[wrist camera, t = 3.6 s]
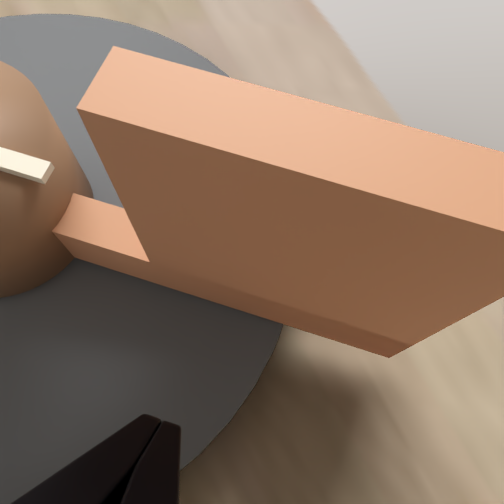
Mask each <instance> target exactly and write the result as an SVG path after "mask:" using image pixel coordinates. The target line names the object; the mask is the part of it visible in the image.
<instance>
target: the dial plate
mask: <svg viewBox="0 0 504 504" xmlns="http://www.w3.org/2000/svg"><path fill="white" fill-rule="evenodd" d="M113 46H116V47H120V48H123V49H127V50H131V51H134V52H138V53H142V54H145V55H149V56H153V57H156V58H160V59H164V60H167V61H171V62H175V63H178V64H182V65H186V66H189V67H193V68H197V69H200V70H204V71H208V72H211V73H215V74H219V75H222V76H226V77H229V76H228V75H227V74H225V73H224V72H223V71H222V70H220V69H219V68H218V67H216V66H215V65H214V64H213V63H211V62H210V61H209V60H208V59H206V58H204V57H203V56H201V55H199V54H198V53H196V52H194V51H193V50H191V49H189V48H188V47H186V46H184V45H183V44H180V43H178V42H176V41H174V40H171V39H169V38H167V37H165V36H163V35H160V34H158V33H156V32H153V31H149V30H146V29H143V28H140V27H137V26H134V25H131V24H127V23H123V22H118V21H113V20H109V19H104V18H98V17H89V16H80V15H71V14H32V15H19V16H7V17H1V18H0V61H2V62H4V63H6V64H8V65H10V66H12V67H14V68H15V69H17V70H18V71H20V72H21V73H22V74H24V75H25V76H26V77H27V78H28V79H29V80H30V81H31V82H32V83H33V85H34V86H35V87H36V89H37V90H38V91H39V93H40V95H41V97H42V99H43V100H44V102H45V104H46V106H47V107H48V109H49V111H50V113H51V115H52V116H53V118H54V120H55V122H56V123H57V125H58V127H59V129H60V131H61V132H62V134H63V136H64V138H65V140H66V141H67V143H68V145H69V147H70V148H71V150H72V152H73V154H74V156H75V157H76V159H77V161H78V163H79V164H80V166H81V168H82V170H83V172H84V173H85V175H86V177H87V179H88V181H89V183H90V185H91V188H92V191H93V196H94V199H95V200H98V201H101V202H105V203H108V204H111V205H114V206H118V207H121V208H124V207H123V205H122V203H121V201H120V199H119V197H118V195H117V193H116V191H115V188H114V186H113V184H112V182H111V180H110V178H109V176H108V174H107V172H106V170H105V167H104V165H103V163H102V161H101V159H100V157H99V155H98V153H97V151H96V149H95V146H94V144H93V142H92V140H91V138H90V136H89V134H88V132H87V130H86V128H85V125H84V123H83V121H82V119H81V117H80V115H79V113H78V111H77V109H76V107H77V106H78V104H79V102H80V101H81V99H82V97H83V96H84V94H85V92H86V91H87V89H88V87H89V86H90V84H91V82H92V81H93V79H94V77H95V76H96V74H97V72H98V71H99V69H100V67H101V66H102V64H103V62H104V61H105V59H106V57H107V56H108V54H109V52H110V51H111V49H112V47H113ZM229 78H230V77H229ZM282 327H283V324H281V323H278V322H275V321H272V320H269V319H266V318H263V317H259V316H256V315H253V314H250V313H247V312H244V311H241V310H237V309H234V308H231V307H228V306H225V305H222V304H219V303H216V302H212V301H209V300H206V299H203V298H200V297H197V296H194V295H191V294H187V293H184V292H181V291H178V290H175V289H172V288H169V287H165V286H162V285H159V284H156V283H153V282H150V281H147V280H144V279H140V278H137V277H134V276H131V275H128V274H125V273H122V272H118V271H115V270H112V269H109V268H106V267H103V266H100V265H97V264H93V263H90V262H87V261H84V260H81V259H78V258H74V259H73V260H72V261H71V262H70V263H69V264H68V265H67V266H66V267H65V268H64V269H63V270H62V271H61V272H59V273H58V274H57V275H56V276H55V277H53V278H51V279H50V280H48V281H47V282H45V283H44V284H42V285H40V286H38V287H36V288H34V289H31V290H29V291H26V292H23V293H21V294H17V295H13V296H9V297H2V298H0V504H11V503H12V502H14V501H15V500H17V499H18V498H20V497H21V496H23V495H24V494H25V493H27V492H28V491H30V490H31V489H33V488H34V487H36V486H37V485H39V484H40V483H42V482H43V481H45V480H46V479H48V478H49V477H50V476H52V475H53V474H55V473H56V472H58V471H59V470H61V469H62V468H64V467H65V466H67V465H68V464H70V463H71V462H72V461H74V460H75V459H77V458H78V457H80V456H81V455H83V454H84V453H86V452H87V451H89V450H90V449H92V448H93V447H95V446H96V445H97V444H99V443H100V442H102V441H103V440H105V439H106V438H108V437H109V436H111V435H112V434H114V433H115V432H117V431H118V430H120V429H121V428H122V427H124V426H125V425H127V424H128V423H130V422H131V421H133V420H134V419H136V418H137V417H139V416H140V415H142V414H148V415H151V416H154V417H157V418H160V419H161V421H162V422H163V421H169V422H171V423H174V424H177V425H180V426H181V458H180V470H182V469H183V468H184V467H185V466H186V465H188V464H189V463H190V462H191V461H192V460H193V459H195V458H196V457H197V456H198V455H199V454H201V452H202V451H203V450H204V449H205V448H206V447H207V446H208V445H209V444H210V443H211V442H212V441H213V439H214V438H215V437H216V436H217V435H218V434H219V433H220V432H221V431H222V430H223V429H224V427H225V426H226V425H227V424H228V423H229V422H230V421H231V419H232V418H233V417H234V415H235V414H236V412H237V411H238V409H239V408H240V407H241V405H242V404H243V402H244V401H245V400H246V398H247V397H248V395H249V394H250V393H251V391H252V390H253V388H254V387H255V385H256V383H257V381H258V379H259V377H260V375H261V373H262V372H263V370H264V368H265V366H266V364H267V362H268V360H269V358H270V356H271V355H272V353H273V350H274V348H275V346H276V343H277V340H278V338H279V335H280V332H281V329H282Z"/></svg>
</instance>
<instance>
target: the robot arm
mask: <svg viewBox="0 0 504 504" xmlns="http://www.w3.org/2000/svg"><path fill="white" fill-rule="evenodd" d="M180 458H181V426H180V425H177V424H174V423H171V422H169V421H163V422H162V421H161V419H160V418H157V417H154V416H151V415H148V414H142V415H140V416H139V417H137V418H136V419H134V420H133V421H131V422H130V423H128V424H127V425H125V426H124V427H122V428H121V429H120V430H118V431H117V432H115V433H114V434H112V435H111V436H109V437H108V438H106V439H105V440H103V441H102V442H100V443H99V444H97V445H96V446H95V447H93V448H92V449H90V450H89V451H87V452H86V453H84V454H83V455H81V456H80V457H78V458H77V459H75V460H74V461H72V462H71V463H70V464H68V465H67V466H65V467H64V468H62V469H61V470H59V471H58V472H56V473H55V474H53V475H52V476H50V477H49V478H48V479H46V480H45V481H43V482H42V483H40V484H39V485H37V486H36V487H34V488H33V489H31V490H30V491H28V492H27V493H25V494H24V495H23V496H21V497H20V498H18V499H17V500H15V501H14V502H12V503H11V504H179V485H180Z"/></svg>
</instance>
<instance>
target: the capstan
mask: <svg viewBox="0 0 504 504" xmlns="http://www.w3.org/2000/svg"><path fill="white" fill-rule="evenodd" d="M76 109H77V111H78V113H79V115H80V117H81V119H82V121H83V123H84V125H85V128H86V130H87V132H88V134H89V136H90V138H91V140H92V142H93V144H94V146H95V149H96V151H97V153H98V155H99V157H100V159H101V161H102V163H103V165H104V167H105V170H106V172H107V174H108V176H109V178H110V180H111V182H112V184H113V186H114V188H115V191H116V193H117V195H118V197H119V199H120V201H121V203H122V205H123V207H124V208H121V207H118V206H114V205H111V204H108V203H105V202H101V201H98V200H95V199H94V196H93V191H92V188H91V185H90V183H89V181H88V179H87V177H86V175H85V173H84V172H83V170H82V168H81V166H80V164H79V163H78V161H77V159H76V157H75V156H74V154H73V152H72V150H71V148H70V147H69V145H68V143H67V141H66V140H65V138H64V136H63V134H62V132H61V131H60V129H59V127H58V125H57V123H56V122H55V120H54V118H53V116H52V115H51V113H50V111H49V109H48V107H47V106H46V104H45V102H44V100H43V99H42V97H41V95H40V93H39V91H38V90H37V89H36V87H35V86H34V85H33V83H32V82H31V81H30V80H29V79H28V78H27V77H26V76H25V75H24V74H22V73H21V72H20V71H18V70H17V69H15V68H14V67H12V66H10V65H8V64H6V63H4V62H2V61H0V298H2V297H9V296H13V295H17V294H21V293H23V292H26V291H29V290H31V289H34V288H36V287H38V286H40V285H42V284H44V283H45V282H47V281H48V280H50V279H51V278H53V277H55V276H56V275H57V274H58V273H59V272H61V271H62V270H63V269H64V268H65V267H66V266H67V265H68V264H69V263H70V262H71V261H72V260H73V259H74V258H78V259H81V260H84V261H87V262H90V263H93V264H97V265H100V266H103V267H106V268H109V269H112V270H115V271H118V272H122V273H125V274H128V275H131V276H134V277H137V278H140V279H144V280H147V281H150V282H153V283H156V284H159V285H162V286H165V287H169V288H172V289H175V290H178V291H181V292H184V293H187V294H191V295H194V296H197V297H200V298H203V299H206V300H209V301H212V302H216V303H219V304H222V305H225V306H228V307H231V308H234V309H237V310H241V311H244V312H247V313H250V314H253V315H256V316H259V317H263V318H266V319H269V320H272V321H275V322H278V323H281V324H284V325H288V326H291V327H294V328H297V329H300V330H303V331H306V332H310V333H313V334H316V335H319V336H322V337H325V338H328V339H331V340H335V341H338V342H341V343H344V344H347V345H350V346H353V347H356V348H360V349H363V350H366V351H369V352H372V353H375V354H378V355H382V356H385V357H388V358H390V357H392V356H394V355H395V354H397V353H399V352H401V351H403V350H405V349H407V348H409V347H410V346H412V345H414V344H416V343H418V342H420V341H422V340H424V339H425V338H427V337H429V336H431V335H433V334H435V333H437V332H439V331H440V330H442V329H444V328H446V327H448V326H450V325H452V324H453V323H455V322H457V321H459V320H461V319H463V318H465V317H467V316H468V315H470V314H472V313H474V312H476V311H478V310H480V309H482V308H483V307H485V306H487V305H489V304H491V303H493V302H495V301H496V300H498V299H500V298H502V297H504V152H500V151H497V150H493V149H489V148H485V147H482V146H478V145H475V144H471V143H467V142H464V141H460V140H456V139H453V138H449V137H445V136H442V135H438V134H435V133H431V132H427V131H424V130H420V129H416V128H413V127H409V126H405V125H402V124H398V123H394V122H391V121H387V120H383V119H380V118H376V117H372V116H369V115H365V114H361V113H358V112H354V111H350V110H347V109H343V108H339V107H336V106H332V105H328V104H325V103H321V102H317V101H314V100H310V99H306V98H303V97H299V96H295V95H292V94H288V93H284V92H281V91H277V90H273V89H270V88H266V87H262V86H259V85H255V84H251V83H248V82H244V81H240V80H237V79H233V78H229V77H226V76H222V75H219V74H215V73H211V72H208V71H204V70H200V69H197V68H193V67H189V66H186V65H182V64H178V63H175V62H171V61H167V60H164V59H160V58H156V57H153V56H149V55H145V54H142V53H138V52H134V51H131V50H127V49H123V48H120V47H116V46H113V47H112V49H111V51H110V52H109V54H108V56H107V57H106V59H105V61H104V62H103V64H102V66H101V67H100V69H99V71H98V72H97V74H96V76H95V77H94V79H93V81H92V82H91V84H90V86H89V87H88V89H87V91H86V92H85V94H84V96H83V97H82V99H81V101H80V102H79V104H78V106H77V107H76Z"/></svg>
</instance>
